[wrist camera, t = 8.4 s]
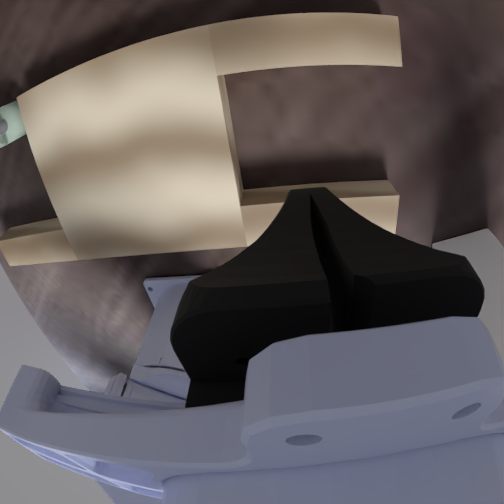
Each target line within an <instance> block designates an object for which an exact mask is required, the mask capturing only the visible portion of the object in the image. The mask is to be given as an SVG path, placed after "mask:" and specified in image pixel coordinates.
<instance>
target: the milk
mask: <svg viewBox="0 0 504 504" xmlns="http://www.w3.org/2000/svg"><path fill="white" fill-rule="evenodd" d="M432 248H433V249H437V250H441V251H445V252H450V253H454V254H458V255H462V256H465V257H466V258H467V259H468V261H469V262H470V264H471V265H472V267H473V268H474V270H475V271H476V273H477V275H478V276H479V278H480V279H481V281H482V284H483V286H484V289H485V299H484V302H483V305H482V308H481V311H480V313H479V315H478V317H479V319H480V320H481V321H482V322H483V324H484V325H485V326H486V327H487V329H488V330H489V333H490V335H491V337H492V339H493V341H494V343H495V345H496V348H497V350H498V352H499V354H500V357H501V359H502V361H503V364H504V247H503V246H502V245H501V243H500V242H499V241H498V240H497V238H496V237H495V236H494V235H493V234H492V232H491V231H490V230H489V229H488V228H486V229H483V230H479V231H476V232H472V233H469V234H465V235H461V236H458V237H454V238H451V239H447V240H443V241H440V242H436V243H433V244H432Z"/></svg>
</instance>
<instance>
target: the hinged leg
mask: <svg viewBox="0 0 504 504" xmlns="http://www.w3.org/2000/svg"><path fill="white" fill-rule="evenodd" d="M25 134H26V130H25V127H24V124H23V120H22V117H21V113H20V109H19V106H18V102H17V100H16V101H14V102H11V103H9V104H7V105H4V106H2V107H0V148H1V147H3V146H5V145H7V144H9V143H11V142H13V141H15V140H16V139H18V138H20V137H22V136H23V135H25Z"/></svg>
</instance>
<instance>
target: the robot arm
mask: <svg viewBox="0 0 504 504" xmlns="http://www.w3.org/2000/svg"><path fill="white" fill-rule="evenodd" d="M143 284H144V287H145V289H146V291H147V293H148V295H149V298H150V300H151V302H152V304H153V306H154V308H155V309H154V312H153V315H152V317H151V320H150V323H149V325H148V328H147V331H146V334H145V336H144V339H143V342H142V345H141V348H140V351H139V353H138V356H137V359H136V362H135V364H134V365H133V368H132V371H131V374H130V377H129V380H127V379H126V378H127V375H125V374H123V373H119V374H118V375H116V376H113V377H111V378H110V380H109V383H108V385H107V387H106V390H105V393H104V394H103V393H97V392H91V391H86V390H80V389H76V388H71V387H66V386H61V385H60V383H59V382H58V380H57V379H56V378H55V377H54V376H53V375H51V374H50V373H49V372H47V371H45V370H43V369H39V368H35V367H30V366H26V365H22V366H21V368H20V370H19V372H18V374H17V376H16V378H15V380H14V382H13V384H12V386H11V388H10V391H9V393H8V395H7V397H6V399H5V401H4V404H3V406H2V408H1V411H0V430H1V431H3V432H4V433H5V434H7V435H8V436H10V437H11V438H12V439H14V440H16V441H17V442H18V443H20V444H21V445H23V446H24V447H26V448H27V449H29V450H30V451H32V452H33V453H35V454H37V455H38V456H40V457H41V458H43V459H45V460H47V461H50V462H52V463H54V464H57V465H59V466H62V467H64V468H67V469H69V470H71V471H74V472H76V473H79V474H82V475H84V476H87V477H90V478H92V479H94V480H95V481H96V482H97V484H98V485H99V486H100V487H101V488H102V490H103V491H104V492H105V493H106V494H107V495H108V497H109V498H110V499H111V500H112V501H113V502H114V503H115V504H504V364H503V361H502V359H501V357H500V354H499V352H498V350H497V348H496V345H495V343H494V341H493V339H492V337H491V335H490V333H489V330H488V329H487V327H486V326H485V325H484V324H483V322H482V321H481V320H480V319H479V317H478V315H479V313H480V311H481V308H482V305H483V302H484V299H485V289H484V286H483V284H482V281H481V279H480V278H479V276H478V275H477V273H476V271H475V270H474V268H473V267H472V265H471V264H470V262H469V261H468V259H467V258H466V257H465V256H462V255H458V254H454V253H450V252H445V251H441V250H437V249H433V248H430V247H427V246H424V245H421V244H418V243H415V242H413V241H410V240H407V239H405V238H403V237H400V236H398V235H396V234H393V233H391V232H389V231H387V230H385V229H383V228H382V227H380V226H378V225H376V224H374V223H372V222H371V221H369V220H367V219H366V218H364V217H363V216H361V215H360V214H358V213H357V212H356V211H354V210H353V209H351V208H350V207H349V206H347V205H346V204H345V203H344V202H342V201H341V200H340V199H339V198H338V197H336V196H335V195H334V194H333V193H332V192H331V191H329V190H328V189H327V188H326V187H315V188H303V189H292V190H290V191H289V192H288V195H287V197H286V200H285V202H284V204H283V206H282V207H281V209H280V211H279V212H278V214H277V216H276V217H275V218H274V220H273V221H272V222H271V224H270V225H269V227H268V228H267V229H266V230H265V231H264V233H263V234H262V235H261V236H260V237H259V238H258V239H257V240H256V241H255V242H254V243H252V244H251V245H250V246H249V247H247V248H246V249H245V250H244V251H242V252H241V253H240V254H239V255H237V256H236V257H234V258H233V259H231V260H230V261H228V262H226V263H225V264H223V265H221V266H220V267H218V268H216V269H214V270H212V271H210V272H208V273H206V274H204V275H197V276H179V277H160V278H146V279H145V280H144V283H143ZM150 287H151V288H150Z"/></svg>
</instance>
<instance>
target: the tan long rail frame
mask: <svg viewBox="0 0 504 504" xmlns="http://www.w3.org/2000/svg"><path fill="white" fill-rule="evenodd" d="M311 65H383V66H399V67H402V56H401V43H400V32H399V22H398V16H389V15H378V14H364V13H295V14H280V15H269V16H260V17H252V18H244V19H237V20H231V21H225V22H219V23H214V24H209V25H204V26H199V27H194V28H190V29H186V30H181V31H177V32H174V33H170V34H166V35H162V36H159V37H155V38H152V39H149V40H145V41H142V42H139V43H136V44H133V45H130V46H127V47H124V48H121V49H118V50H116V51H113V52H110V53H108V54H105V55H102V56H100V57H97V58H95V59H92V60H90V61H88V62H85V63H83V64H81V65H78V66H76V67H74V68H72V69H70V70H67V71H65V72H63V73H61V74H59V75H57V76H55V77H53V78H51V79H49V80H47V81H45V82H43V83H41V84H39V85H37V86H36V87H34V88H32V89H30V90H28V91H27V92H25V93H23V94H21V95H20V96H18V97H16V98H17V102H18V106H19V109H20V113H21V117H22V120H23V124H24V127H25V130H26V134H27V137H28V140H29V143H30V146H31V149H32V152H33V155H34V158H35V161H36V164H37V167H38V170H39V172H40V175H41V178H42V180H43V183H44V185H45V188H46V191H47V193H48V196H49V198H50V200H51V203H52V205H53V208H54V210H55V212H56V215H57V217H58V218H53V219H48V220H43V221H38V222H34V223H29V224H25V225H20V226H16V227H11V228H9V229H8V230H7V231H6V232H5V233H4V234H3V235H2V236H1V237H0V249H1V251H2V253H3V254H4V256H5V258H6V260H7V262H8V263H9V265H10V266H17V265H28V264H40V263H51V262H63V261H74V260H86V259H97V258H109V257H121V256H133V255H145V254H158V253H170V252H182V251H195V250H207V249H220V248H232V247H245V246H250V245H251V244H252V243H254V242H255V241H256V240H257V239H258V238H259V237H260V236H261V235H262V234H263V233H264V231H265V230H266V229H267V228H268V227H269V225H270V224H271V222H272V221H273V220H274V218H275V217H276V216H277V214H278V212H279V211H280V209H281V207H282V206H283V204H284V202H285V200H286V197H287V195H288V192H289V191H290V190H292V189H303V188H315V187H326V188H327V189H328V190H329V191H331V192H332V193H333V194H334V195H335V196H336V197H338V198H339V199H340V200H341V201H342V202H344V203H345V204H346V205H347V206H349V207H350V208H351V209H353V210H354V211H356V212H357V213H358V214H360V215H361V216H363V217H364V218H366V219H367V220H369V221H371V222H372V223H374V224H376V225H378V226H380V227H382V228H383V229H385V230H387V231H389V232H391V233H393V234H395V231H396V223H397V214H398V205H399V194H398V193H397V191H396V190H395V189H394V187H393V186H392V185H391V183H390V182H389V181H388V180H370V181H348V182H331V183H315V184H302V185H289V186H277V187H266V188H255V189H245V190H243V184H242V178H241V172H240V166H239V160H238V154H237V149H236V143H235V137H234V131H233V125H232V119H231V113H230V107H229V102H228V96H227V90H226V84H225V78H224V75H225V74H231V73H238V72H245V71H253V70H261V69H271V68H281V67H294V66H311Z"/></svg>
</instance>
